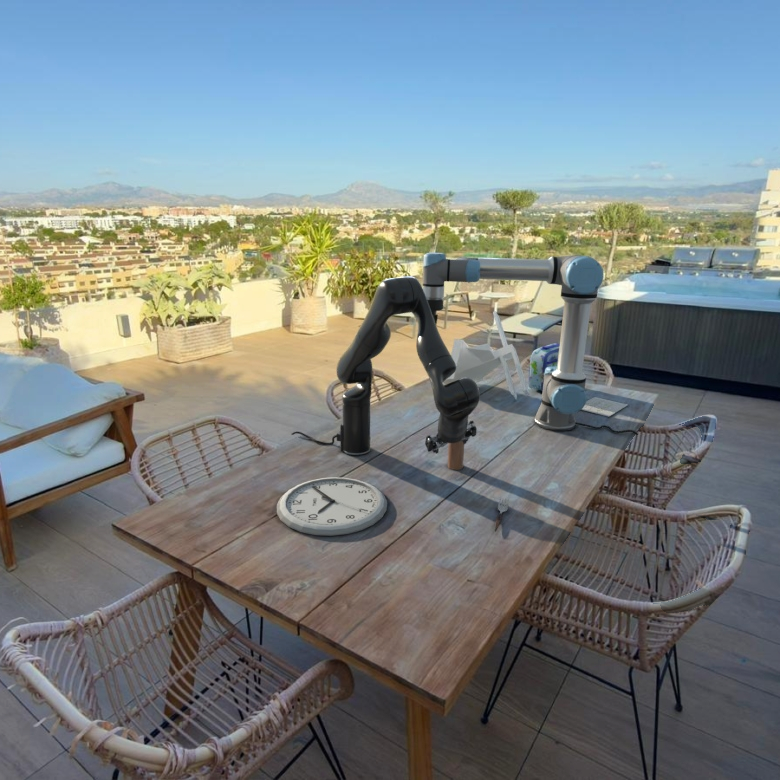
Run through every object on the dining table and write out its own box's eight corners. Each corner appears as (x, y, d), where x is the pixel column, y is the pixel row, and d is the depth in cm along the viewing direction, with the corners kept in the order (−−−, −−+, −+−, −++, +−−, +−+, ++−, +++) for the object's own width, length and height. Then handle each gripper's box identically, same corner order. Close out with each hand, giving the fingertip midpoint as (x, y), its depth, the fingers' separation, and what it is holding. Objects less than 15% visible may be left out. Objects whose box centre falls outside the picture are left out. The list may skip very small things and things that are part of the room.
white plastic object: (461, 429, 252) (437, 405, 227) (444, 352, 274) (420, 323, 250) (535, 404, 240) (518, 377, 215) (510, 326, 262) (492, 293, 237)
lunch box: (544, 395, 239) (549, 351, 233) (524, 390, 247) (528, 347, 240) (571, 384, 257) (577, 343, 251) (552, 380, 264) (556, 339, 258)
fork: (489, 532, 131) (490, 525, 131) (499, 502, 145) (500, 496, 145) (500, 534, 130) (500, 527, 130) (509, 504, 145) (509, 497, 144)
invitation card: (608, 416, 214) (573, 407, 224) (608, 416, 214) (573, 408, 224) (628, 404, 229) (594, 396, 238) (628, 405, 229) (594, 397, 238)
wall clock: (392, 527, 129) (268, 531, 127) (391, 533, 130) (269, 537, 127) (383, 473, 158) (282, 475, 155) (383, 478, 158) (282, 480, 156)
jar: (465, 468, 166) (468, 422, 161) (451, 470, 165) (453, 424, 160) (459, 462, 170) (461, 417, 166) (445, 463, 169) (447, 418, 164)
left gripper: (472, 403, 138) (467, 426, 153) (421, 420, 137) (421, 442, 151) (483, 427, 135) (477, 449, 149) (432, 445, 133) (431, 465, 148)
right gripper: (424, 293, 195) (422, 349, 202) (419, 302, 172) (417, 365, 178) (444, 294, 195) (441, 350, 201) (442, 303, 171) (439, 366, 177)
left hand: (449, 445), depth 150 cm, fingers open, 8 cm apart
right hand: (430, 357), depth 190 cm, fingers open, 13 cm apart
